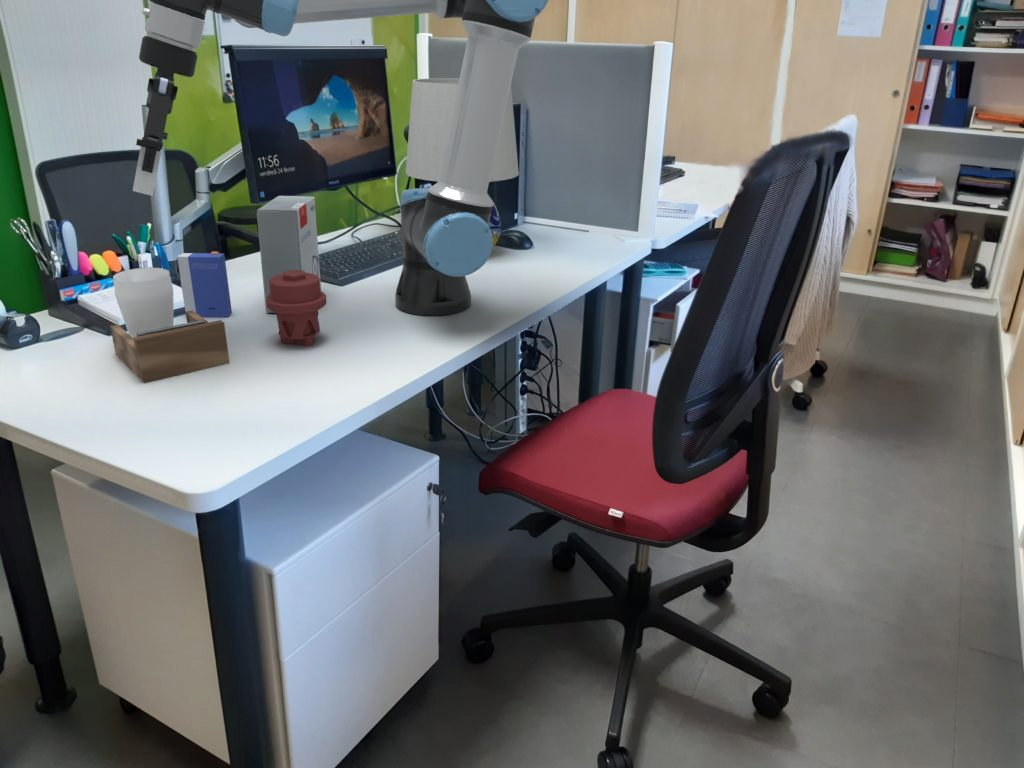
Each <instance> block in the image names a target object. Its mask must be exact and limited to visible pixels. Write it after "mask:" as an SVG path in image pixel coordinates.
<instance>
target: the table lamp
mask: <svg viewBox="0 0 1024 768" xmlns="http://www.w3.org/2000/svg"><path fill="white" fill-rule="evenodd" d="M459 79H460V77H459V78H452V77H451V78H450V77H449V78H448V77H445V78H443V77H440V78H415V79H413V80H412V85H411V98H410V109H409V110H410V113H409V122H408V123H409V124H408V125H409V126H408V135H407V136H408V139H407V149H406V150H407V152H406V162H405V163H406V164H405V166H406V167H405V174H406V176H408V177H410V178H413V179H418V180H423V181H429V182H430V181H431V182H438V181H439V178H440V173H441V168H442V163H443V158H444V153H445V148H446V143H447V138H448V133H449V128H450V123H451V118H452V113H453V108H454V104H455V99H456V94H457V89H458V84H459ZM512 92H513V91H512V85H511V86H510V90H509V95H508V99H507V104H506V108H505V113H504V117H503V122H502V126H501V131H500V135H499V140H498V144H497V149H496V153H495V158H494V162H493V167H492V171H491V176H490V180H489V183H491V182H500V181H506V180H507V181H508V180H510V179H511V180H512V179H515V178H516V177H518V176H519V175H520V173H519V171H520V170H519V162H518V161H519V160H518V151H517V139H516V128H515V127H516V126H515V115H514V104H513V103H514V102H513V93H512ZM488 197H489V198H490V200H491V202H492V203H493V207H492V211H491V216H490V220H489V225H488V226H489V227H490V230H491V233H492V238H493V247H492V250H493V249H494V248H495V246H496V245H497V242H498V241H499V239H500V235H501V233H502V232H501V231H502V223H501V218H500V214H499V211H498V208H497V206H496V204H495V203H494V201H493V199H492V198H491V197H490V195H489V194H488Z"/></svg>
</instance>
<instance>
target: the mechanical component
mask: <svg viewBox="0 0 1024 768" xmlns="http://www.w3.org/2000/svg"><path fill="white" fill-rule="evenodd" d="M320 281H321V277H320V278H319V277H318V276H317V275H315V274H311V273H305V272H304V271H302V270H289V271H285V272H283V274H279V275H276V276H274V277H272V278H271V279H270V280H269V285H270V295H268V296H267V297H266V305H267V308H268V309H270V310H271V311H273V312H276V313H275V314H276V321H277V327H278V336H279V338H280V339H279V341H280V343H282V344H294V343H295V344H298V345H302V346H306V347H311V346H313V344H314V337H316V336H317V335H318V334H319V333H320V331H321V328H320V322H319V318H318V317H319V310H321V309H323V308H324V307H325V306H326V305H327V294H326V293H325V292H323V291H322V289H321V290H320ZM295 344H294V345H295Z"/></svg>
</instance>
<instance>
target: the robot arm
mask: <svg viewBox="0 0 1024 768" xmlns="http://www.w3.org/2000/svg"><path fill="white" fill-rule="evenodd" d="M548 3H549V0H149V4H148V7H149V8H147V7H143V9H142V11H141V12H142V15H144V16H147V18H146V19H145V22H144V23H145V24H144V30H145V32H147V33H148V35H144V36H143V37H142V39H141V42H140V48H139V49H140V50H139V54H138V55H139V57H138V59H139V61H141V63H143V64H145V65H148V66H151V67H154V68H157V70H156V72H155V74H154V77H153V78H151V77H149V79H148V83H147V89H146V91H147V97H146V103H145V104H146V105H145V106H146V108H147V109H148V110H147V111H148V112H147V118H146V122H145V123H146V124H145V128H144V133H143V136H142V138H141V139H140V138H137V139H136V144H135V146H139V147H140V149H139V153H138V159H137V164H136V169H135V170H136V171H135V174H134V175H135V176H134V181H133V187H132V192H136V193H139V194H142V195H143V194H144V195H148V196H151V197H153V196H154V190H155V186H156V181H157V176H158V170H159V164H160V160H161V154H162V151H161V150H163V146H164V142H163V140H166V141H167V140H168V136H169V133H168V132H165V129H166V123H167V120H168V115H171V114H172V111H173V105H174V102H175V100H176V99H177V94H178V90H179V89H178V88H179V87H178V86H176V85H175V82H174V81H175V77H174V75H175V74H176V75H179V76H182V77H186V78H192V77H194V75H195V71H196V66H197V61H198V54H197V52H196V51H195V50H196V49H199V48H200V47H201V44H202V37H203V33H204V27H205V23H206V22H205V20H206V14H207V11H212V12H213V13H215V14H220V15H222V16H224V17H228V18H230V19H232V20H234V21H235V22H236V23H238V24H239V25H240V26H242V27H243V28H247V29H255V28H256V29H259V30H262V31H264V32H265V33H268V34H274V35H278V36H281V37H288V36H289V35H290V34H291V32H292V30H293V27H294V25H295V24H304V23H305V24H306V23H307V24H308V23H316V22H317V23H319V22H321V23H322V22H331V21H345V20H346V21H347V20H356V19H357V20H359V19H368V18H370V19H371V18H372V19H373V18H381V17H383V18H384V17H395V16H396V17H397V16H410V15H421V14H423V15H424V14H434V15H435V16H436V18H438V19H449V18H450V19H452V18H453V19H456V18H458V19H461V25H462V26H463V29H464V30H465V32H466V34H467V39H466V45H465V49H464V50H465V51H464V55H463V60H462V64H461V65H462V66H461V69H460V74H459V78H460V79H459V84H458V89H457V94H456V99H455V104H454V108H453V113H452V118H451V123H450V128H449V133H448V138H447V143H446V148H445V153H444V158H443V163H442V168H441V173H440V178H439V181H436V183H435V184H433V185H431V186H430V187H419V188H417V187H416V188H409V189H404V190H403V191H402V193H401V194H400V204H399V209H400V224H401V226H400V227H401V246H402V253H401V254H402V269H401V271H400V272H401V273H400V276H399V278H398V279H399V280H398V283H397V287H396V290H395V292H394V293H395V294H394V295H395V296H394V297H395V307H396V308H397V309H399V311H402V312H405V313H408V314H412V315H420V316H444V315H452V314H457V313H460V312H463V311H465V310H468V309H469V308H470V307H471V305H472V293H471V290H470V287H469V283H468V281H467V278H466V277H467V276H470V275H472V274H474V273H475V272H477V271H478V270H480V269H481V268H482V267H483V266H484V265H485V264H486V263H487V261H488V260H489V258H490V257H491V254H492V250H493V249H492V247H493V238H492V233H491V230H490V227H489V226H488V225H489V220H490V216H491V211H492V207H493V203H492V202H491V200H490V198H491V197H490V198H489V197H488V195H489V193H488V190H489V184H490V182H489V180H490V176H491V171H492V167H493V162H494V158H495V153H496V149H497V144H498V140H499V135H500V131H501V126H502V122H503V117H504V113H505V108H506V104H507V99H508V95H509V90H510V86H511V87H512V81H513V80H512V79H513V76H514V71H515V67H516V63H517V57H518V54H519V50H520V49H521V48H522V47H523V46H525V45H526V44H528V43H529V42H530V41H531V38H532V34H533V29H534V25H535V20H536V18H537V17H538V16H539V15H540V14H541V13H542V12H543V11H544V9H545V8H546V6H547V5H548ZM493 248H494V247H493Z"/></svg>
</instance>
